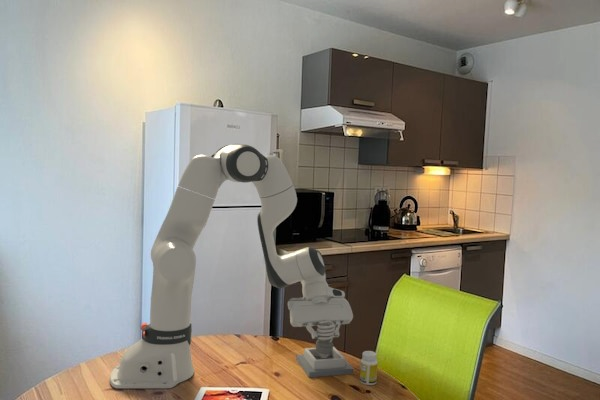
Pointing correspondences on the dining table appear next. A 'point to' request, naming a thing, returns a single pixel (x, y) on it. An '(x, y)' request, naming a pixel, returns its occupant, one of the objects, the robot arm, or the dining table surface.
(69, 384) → the dining table surface
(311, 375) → the bulb socket
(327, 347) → the light bulb
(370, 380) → the supplement bottle
